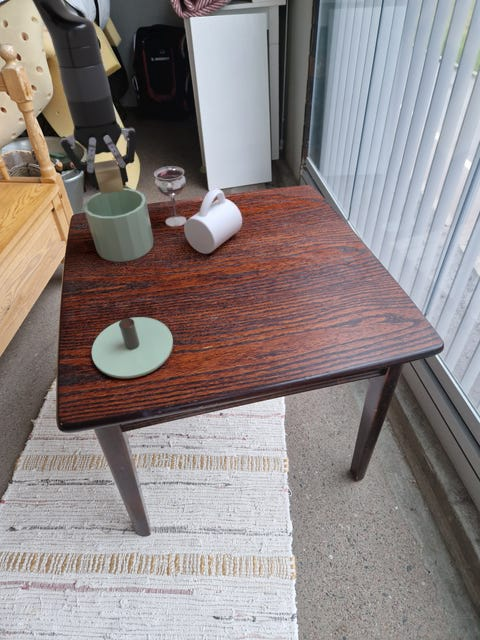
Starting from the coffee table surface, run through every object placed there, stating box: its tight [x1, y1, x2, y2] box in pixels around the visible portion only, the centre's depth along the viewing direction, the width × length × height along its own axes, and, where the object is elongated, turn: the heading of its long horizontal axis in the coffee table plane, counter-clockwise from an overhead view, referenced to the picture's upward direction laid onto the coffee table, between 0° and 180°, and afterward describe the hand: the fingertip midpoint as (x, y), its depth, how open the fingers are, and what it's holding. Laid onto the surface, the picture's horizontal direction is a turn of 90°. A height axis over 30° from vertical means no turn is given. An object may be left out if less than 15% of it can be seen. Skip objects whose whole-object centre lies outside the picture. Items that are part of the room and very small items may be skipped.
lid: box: [91, 316, 174, 379], centre depth 69 cm, size 13×13×6 cm
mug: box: [183, 188, 243, 255], centre depth 90 cm, size 8×10×12 cm
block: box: [94, 158, 125, 194], centre depth 83 cm, size 4×4×4 cm
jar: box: [83, 187, 154, 263], centre depth 90 cm, size 12×12×10 cm
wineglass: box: [153, 165, 187, 227], centre depth 97 cm, size 7×7×12 cm
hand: (110, 185), depth 84 cm, fingers closed on block, 4 cm apart
